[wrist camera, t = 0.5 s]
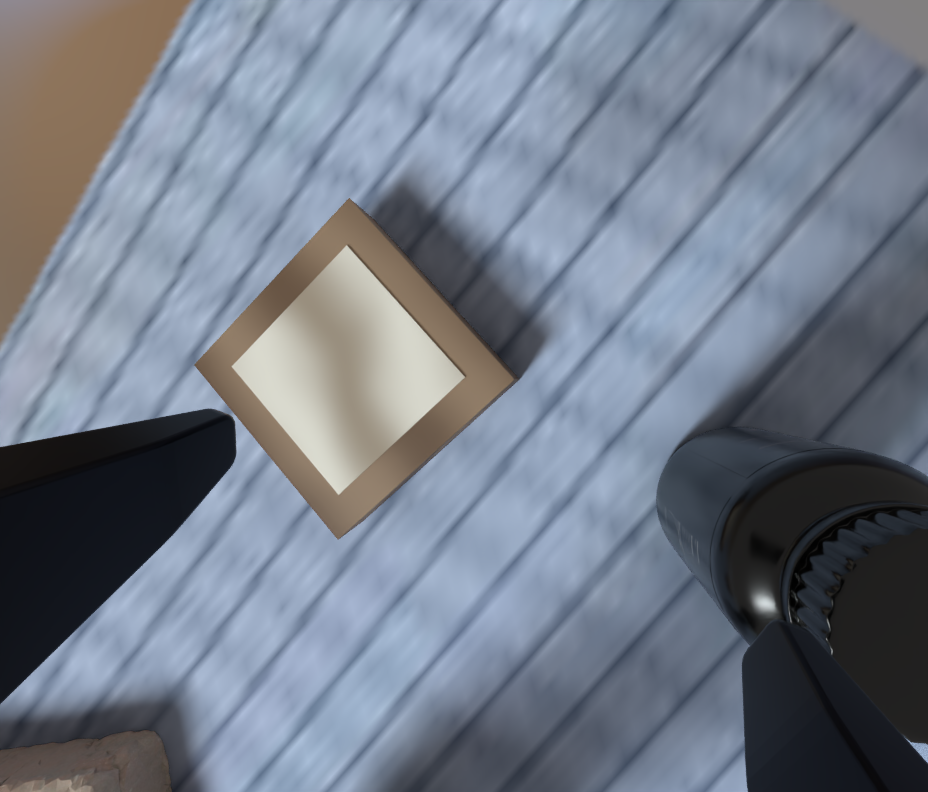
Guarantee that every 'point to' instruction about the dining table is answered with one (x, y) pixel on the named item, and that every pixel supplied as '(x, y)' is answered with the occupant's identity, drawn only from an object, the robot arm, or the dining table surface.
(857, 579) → the supplement bottle
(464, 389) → the plate
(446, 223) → the dining table surface
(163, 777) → the brick
